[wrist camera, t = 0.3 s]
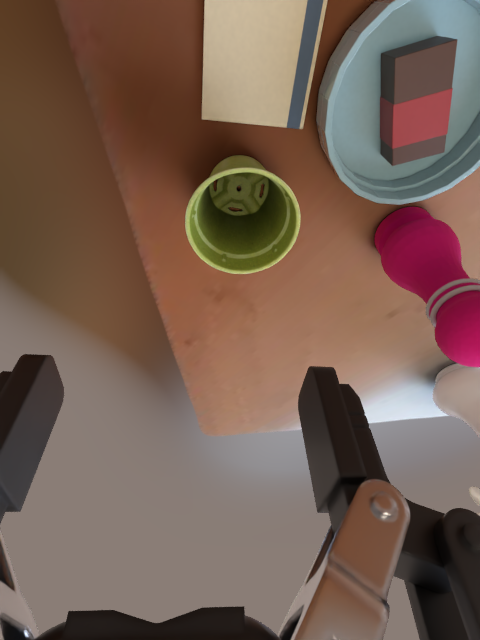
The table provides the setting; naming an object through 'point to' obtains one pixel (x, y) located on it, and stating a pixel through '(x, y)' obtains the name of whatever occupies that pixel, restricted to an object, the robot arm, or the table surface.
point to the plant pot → (242, 217)
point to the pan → (365, 91)
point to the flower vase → (460, 400)
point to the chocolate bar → (416, 99)
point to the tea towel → (260, 60)
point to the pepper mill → (434, 278)
